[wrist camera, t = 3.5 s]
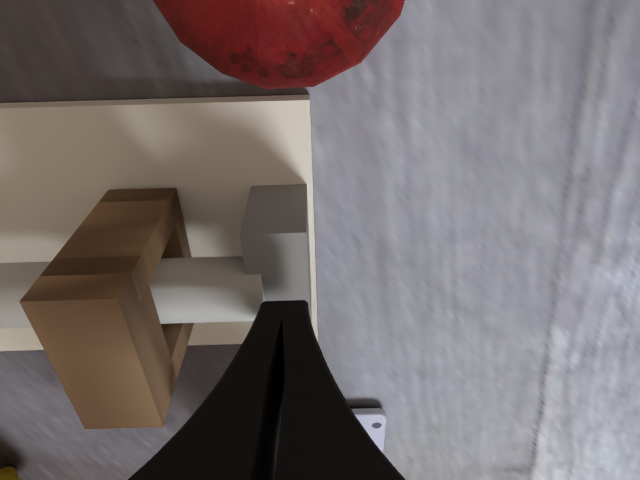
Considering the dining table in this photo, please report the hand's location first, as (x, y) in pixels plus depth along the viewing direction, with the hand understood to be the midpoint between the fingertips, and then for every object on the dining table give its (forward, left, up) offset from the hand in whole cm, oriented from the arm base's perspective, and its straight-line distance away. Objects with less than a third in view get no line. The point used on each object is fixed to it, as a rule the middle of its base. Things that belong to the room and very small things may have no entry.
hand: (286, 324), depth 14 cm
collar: (0, +5, -5) cm, 7 cm away
